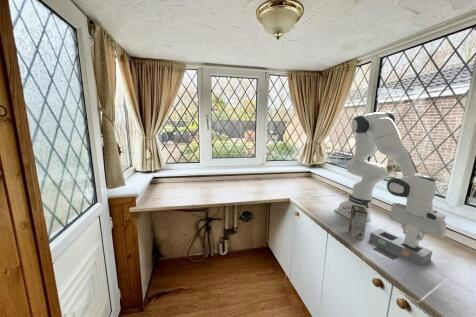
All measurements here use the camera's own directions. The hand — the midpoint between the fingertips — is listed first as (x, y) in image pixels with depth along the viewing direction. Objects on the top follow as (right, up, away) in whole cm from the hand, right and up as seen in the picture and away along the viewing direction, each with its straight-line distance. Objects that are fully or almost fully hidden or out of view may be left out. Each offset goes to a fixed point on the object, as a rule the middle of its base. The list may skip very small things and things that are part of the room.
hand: (412, 236), depth 94 cm
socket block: (-2, -9, +6) cm, 11 cm away
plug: (0, -4, +1) cm, 4 cm away
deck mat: (-11, -10, +2) cm, 15 cm away
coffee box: (-16, -7, +19) cm, 26 cm away
